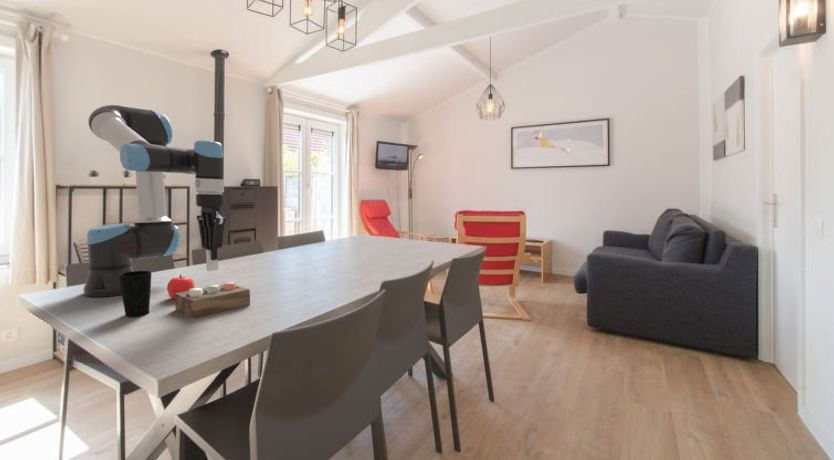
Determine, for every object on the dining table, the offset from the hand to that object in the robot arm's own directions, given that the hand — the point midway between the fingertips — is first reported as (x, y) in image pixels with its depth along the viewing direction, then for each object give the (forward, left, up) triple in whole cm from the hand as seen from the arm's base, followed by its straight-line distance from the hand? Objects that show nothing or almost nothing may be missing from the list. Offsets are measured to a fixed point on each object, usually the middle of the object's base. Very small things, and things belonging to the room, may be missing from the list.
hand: (212, 270), depth 120 cm
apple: (-18, -2, -12) cm, 22 cm away
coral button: (0, +5, -9) cm, 10 cm away
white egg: (0, -5, -9) cm, 10 cm away
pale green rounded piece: (0, 0, -9) cm, 9 cm away
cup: (-10, -17, -12) cm, 23 cm away
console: (0, 0, -12) cm, 12 cm away
